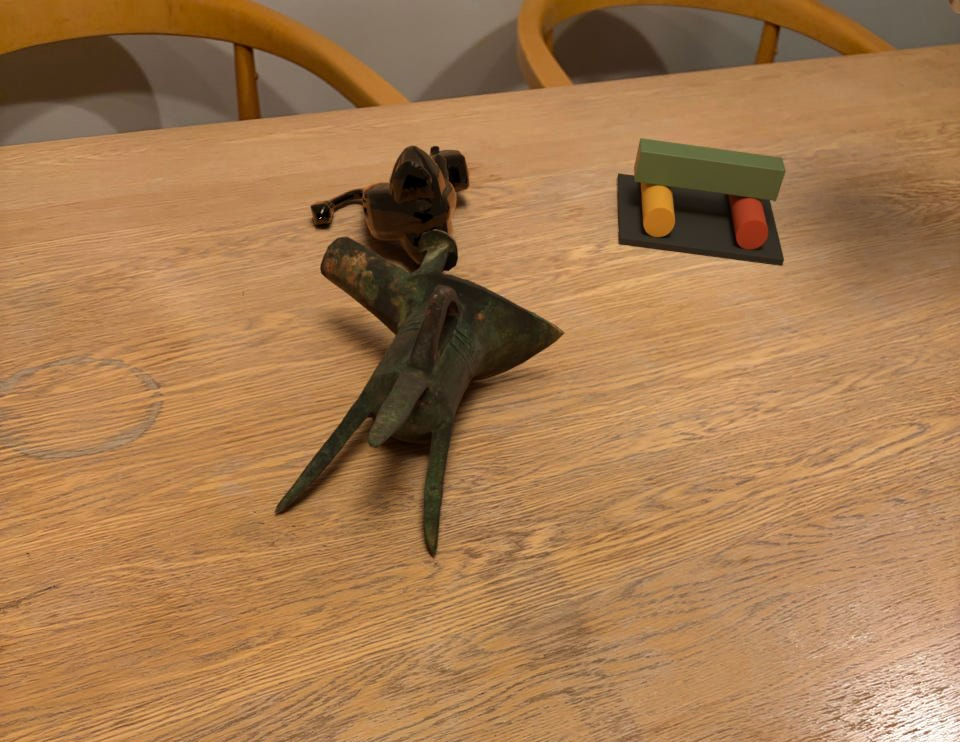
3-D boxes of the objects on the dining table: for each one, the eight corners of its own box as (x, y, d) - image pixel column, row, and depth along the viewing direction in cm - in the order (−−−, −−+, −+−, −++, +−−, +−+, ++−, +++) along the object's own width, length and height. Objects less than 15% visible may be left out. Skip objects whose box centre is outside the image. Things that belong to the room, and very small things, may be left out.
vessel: (485, 581, 68) (572, 350, 82) (466, 450, 59) (568, 215, 73) (231, 541, 73) (355, 329, 87) (177, 414, 64) (325, 200, 78)
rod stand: (766, 198, 108) (777, 164, 105) (782, 265, 99) (794, 230, 96) (617, 178, 108) (623, 143, 105) (618, 243, 98) (626, 207, 96)
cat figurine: (308, 292, 92) (354, 232, 106) (457, 271, 89) (484, 213, 103) (276, 176, 86) (329, 129, 100) (434, 150, 83) (467, 106, 97)
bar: (772, 187, 102) (782, 157, 99) (776, 201, 100) (786, 170, 97) (633, 168, 101) (640, 137, 99) (634, 182, 99) (640, 150, 97)
